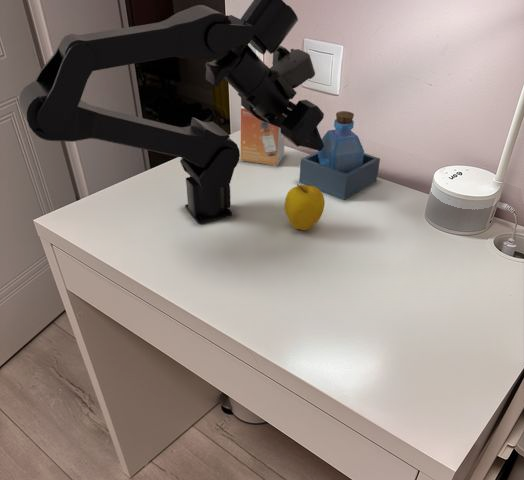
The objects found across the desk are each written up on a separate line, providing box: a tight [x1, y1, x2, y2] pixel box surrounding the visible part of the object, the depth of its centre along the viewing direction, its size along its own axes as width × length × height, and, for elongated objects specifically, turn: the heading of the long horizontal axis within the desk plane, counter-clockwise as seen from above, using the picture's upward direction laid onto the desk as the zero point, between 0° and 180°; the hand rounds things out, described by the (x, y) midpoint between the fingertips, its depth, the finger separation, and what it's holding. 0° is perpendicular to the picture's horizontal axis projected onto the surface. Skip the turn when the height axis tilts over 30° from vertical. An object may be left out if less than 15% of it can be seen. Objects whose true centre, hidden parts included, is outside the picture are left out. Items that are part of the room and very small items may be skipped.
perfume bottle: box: [317, 110, 365, 174], centre depth 98 cm, size 6×6×12 cm
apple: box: [284, 183, 326, 231], centre depth 87 cm, size 6×6×8 cm
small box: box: [239, 105, 286, 167], centre depth 107 cm, size 8×6×10 cm
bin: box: [298, 150, 381, 201], centre depth 101 cm, size 11×11×5 cm
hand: (307, 138), depth 94 cm, fingers open, 9 cm apart
